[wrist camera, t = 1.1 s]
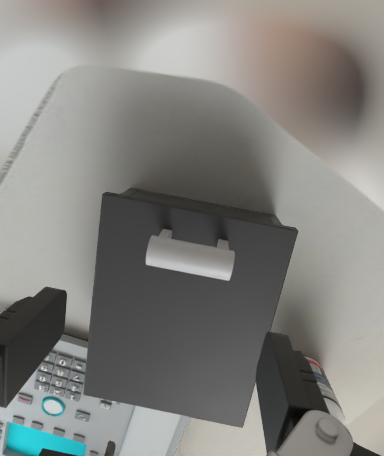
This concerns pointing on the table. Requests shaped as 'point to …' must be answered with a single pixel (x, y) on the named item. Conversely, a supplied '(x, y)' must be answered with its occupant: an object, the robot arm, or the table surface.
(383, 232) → the table surface
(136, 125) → the table surface
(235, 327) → the lid
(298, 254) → the table surface
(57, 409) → the office telephone
